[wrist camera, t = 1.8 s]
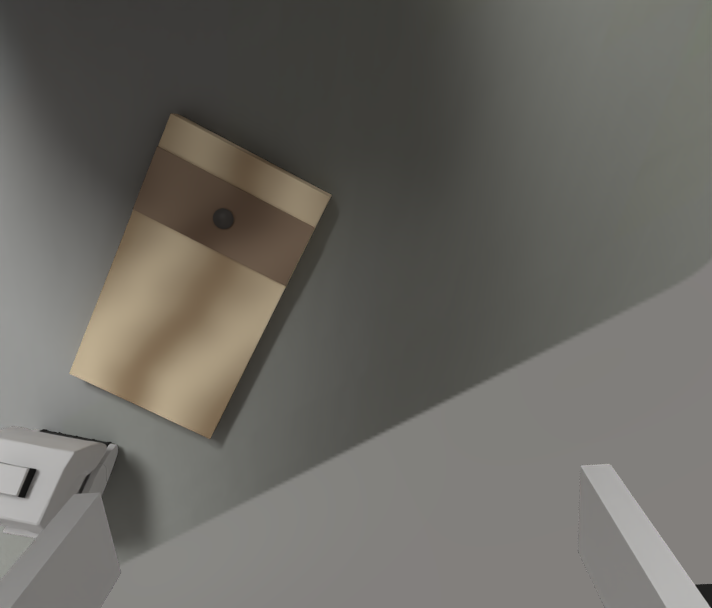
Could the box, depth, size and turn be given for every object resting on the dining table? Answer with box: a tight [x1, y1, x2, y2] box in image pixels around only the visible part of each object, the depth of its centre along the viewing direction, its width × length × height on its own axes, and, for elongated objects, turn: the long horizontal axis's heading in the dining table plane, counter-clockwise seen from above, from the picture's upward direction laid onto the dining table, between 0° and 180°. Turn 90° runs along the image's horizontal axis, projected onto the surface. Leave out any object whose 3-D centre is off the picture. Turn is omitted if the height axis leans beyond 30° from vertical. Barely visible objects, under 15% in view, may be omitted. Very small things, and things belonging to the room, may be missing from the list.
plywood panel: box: [69, 113, 332, 439], centre depth 35 cm, size 10×18×1 cm, turn 153°
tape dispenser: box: [0, 426, 118, 538], centre depth 35 cm, size 6×7×10 cm
